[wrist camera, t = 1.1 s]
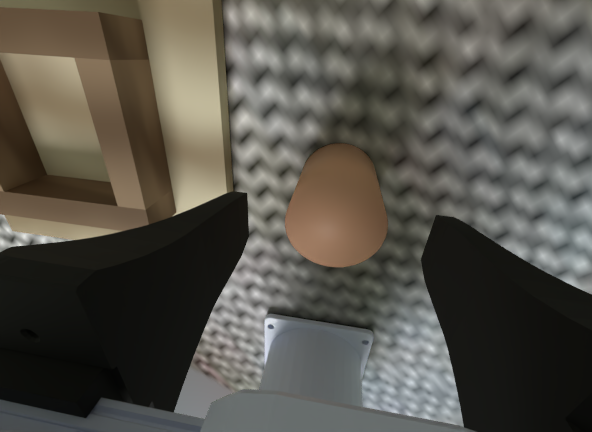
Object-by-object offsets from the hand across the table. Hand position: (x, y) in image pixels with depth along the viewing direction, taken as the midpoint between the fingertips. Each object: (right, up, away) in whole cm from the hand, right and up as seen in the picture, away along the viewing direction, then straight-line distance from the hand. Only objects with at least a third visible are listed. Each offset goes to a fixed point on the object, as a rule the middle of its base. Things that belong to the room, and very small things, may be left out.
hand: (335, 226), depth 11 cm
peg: (+1, +2, +4) cm, 5 cm away
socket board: (-13, +6, +5) cm, 15 cm away
